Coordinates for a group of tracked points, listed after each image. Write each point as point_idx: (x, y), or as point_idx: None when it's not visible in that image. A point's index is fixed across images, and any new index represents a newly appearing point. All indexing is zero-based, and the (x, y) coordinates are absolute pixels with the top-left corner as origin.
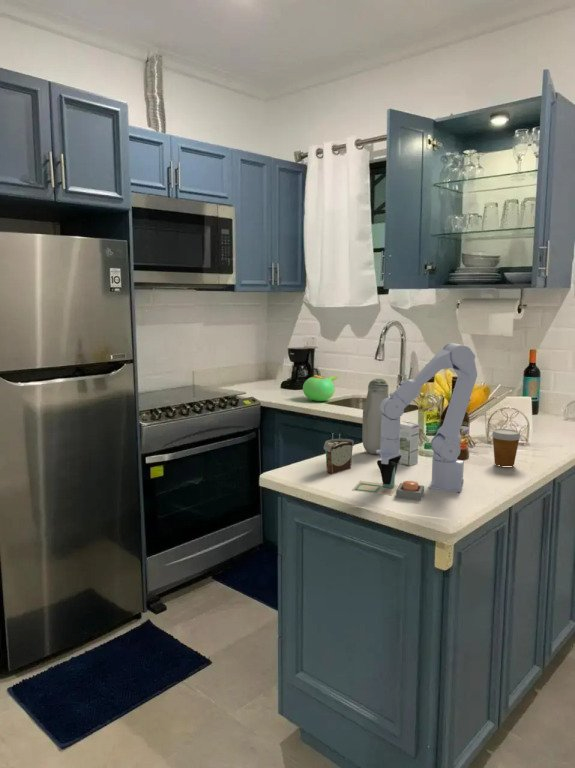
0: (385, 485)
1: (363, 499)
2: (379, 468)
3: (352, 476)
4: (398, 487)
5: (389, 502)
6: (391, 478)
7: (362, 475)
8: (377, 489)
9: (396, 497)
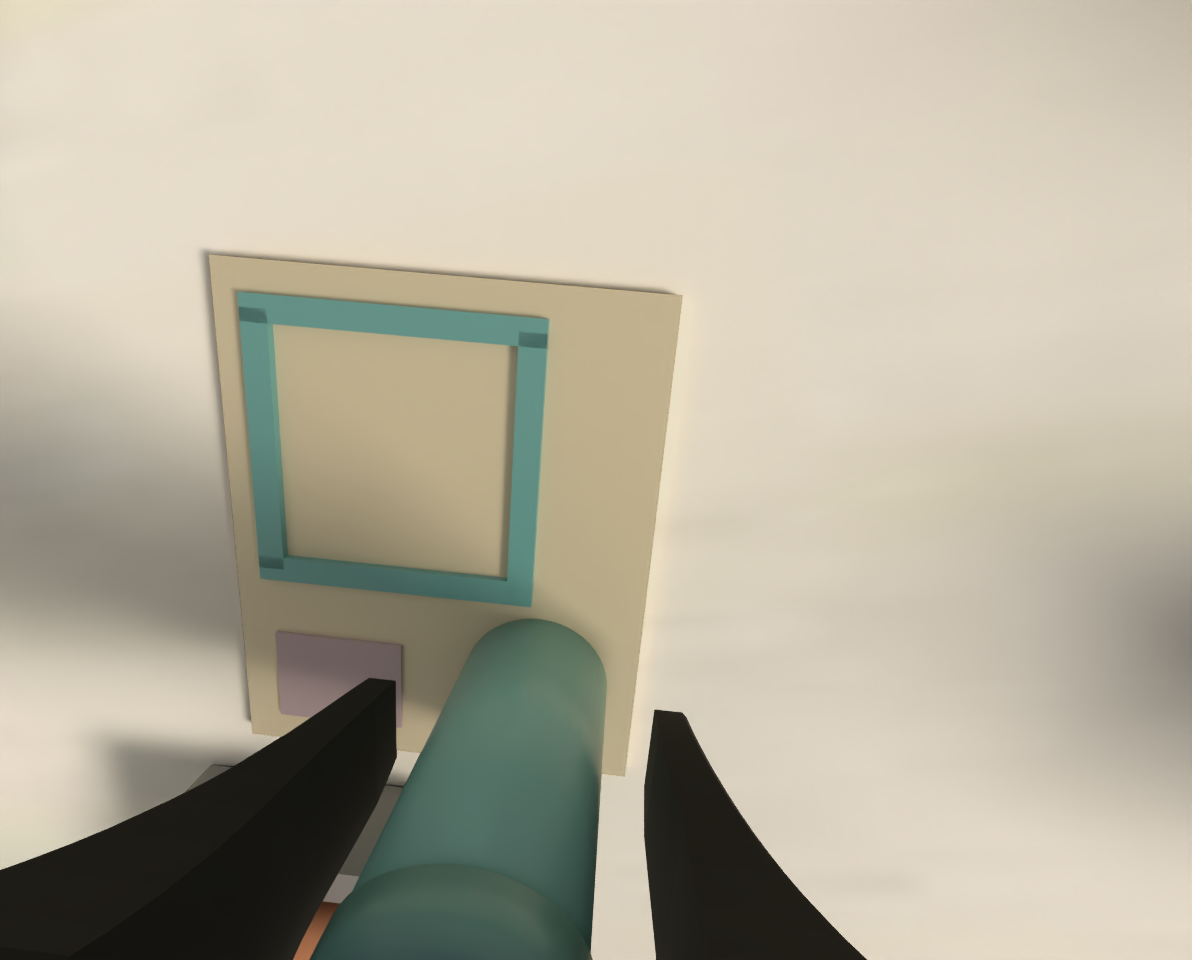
0: (459, 675)
1: (10, 454)
2: (89, 838)
3: (941, 117)
4: None
5: (74, 715)
6: (344, 844)
7: (1024, 279)
8: (355, 580)
9: (203, 779)
